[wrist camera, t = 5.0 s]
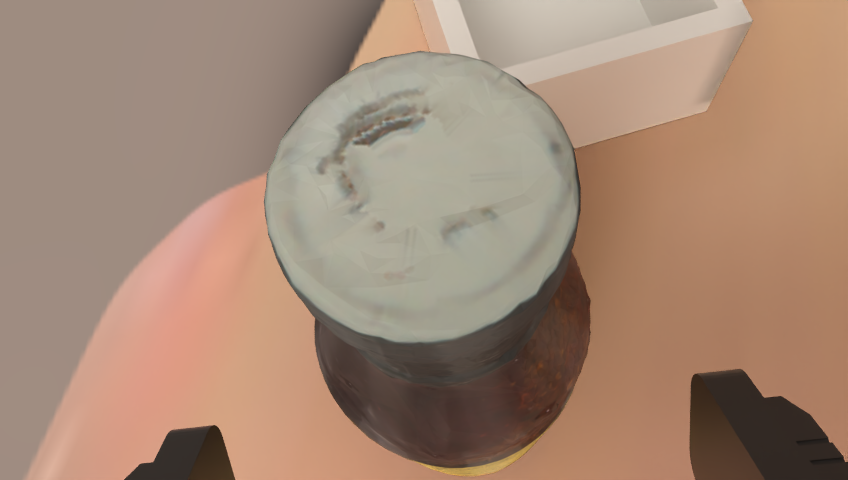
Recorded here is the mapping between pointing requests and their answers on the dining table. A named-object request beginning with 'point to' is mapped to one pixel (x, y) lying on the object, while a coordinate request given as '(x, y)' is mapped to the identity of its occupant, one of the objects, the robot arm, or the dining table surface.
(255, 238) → the dining table surface
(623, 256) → the dining table surface
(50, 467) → the dining table surface
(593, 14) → the bottle holder
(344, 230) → the sauce bottle
